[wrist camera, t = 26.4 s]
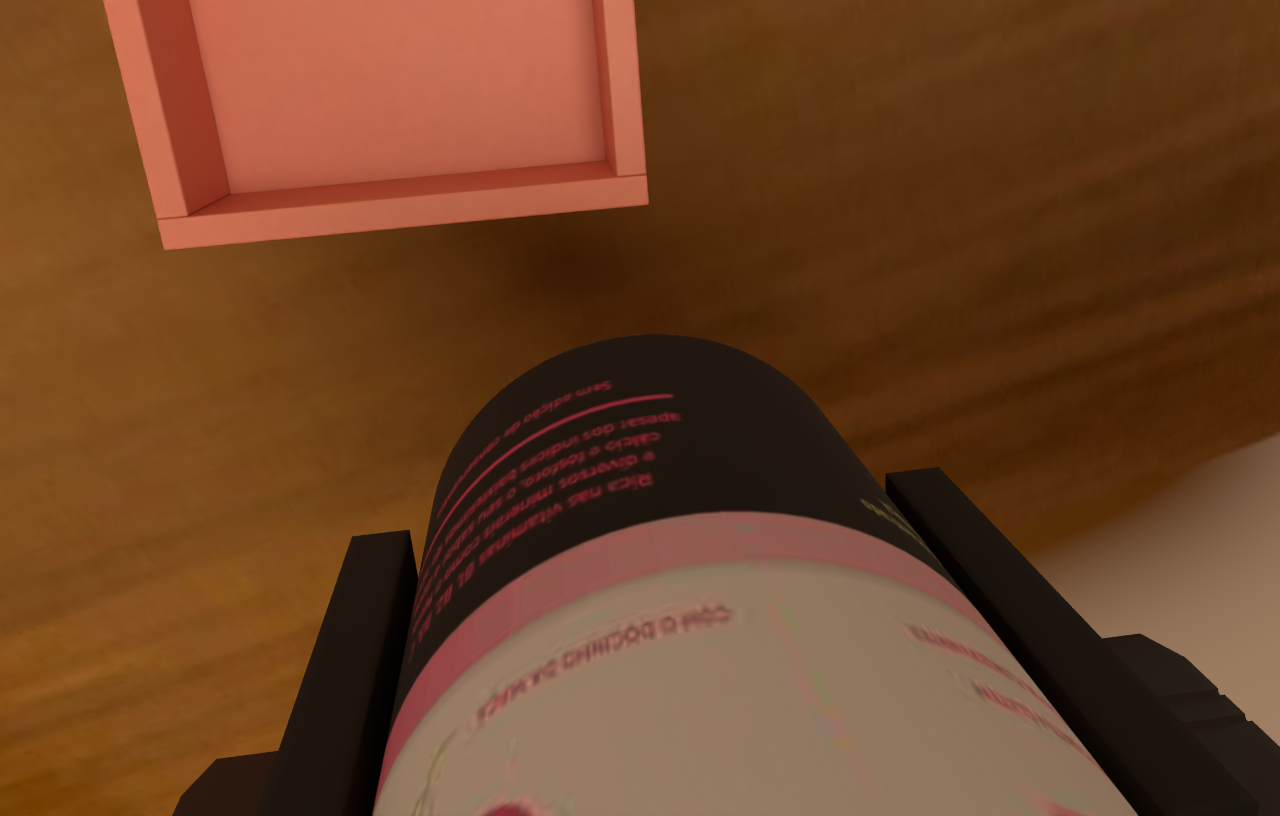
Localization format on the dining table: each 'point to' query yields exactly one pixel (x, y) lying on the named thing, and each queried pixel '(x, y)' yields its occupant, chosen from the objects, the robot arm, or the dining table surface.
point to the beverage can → (699, 618)
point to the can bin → (378, 112)
